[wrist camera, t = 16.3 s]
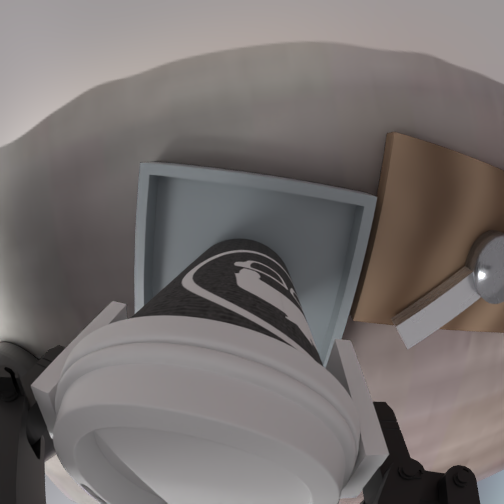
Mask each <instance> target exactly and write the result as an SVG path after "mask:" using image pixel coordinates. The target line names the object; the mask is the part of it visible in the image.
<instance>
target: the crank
mask: <svg viewBox="0 0 504 504" xmlns="http://www.w3.org/2000/svg"><path fill="white" fill-rule="evenodd" d="M480 297H482V298H483V299H484V300H485V301H486V302H488V303H491V304H499V303H502V302H504V233H502V232H500V231H497V230H490V231H487V232H485V233H483V234H482V235H480V236H479V237H478V238H477V239H476V240H475V242H474V243H473V245H472V246H471V248H470V250H469V252H468V255H467V258H466V263H465V266H464V267H463V268H462V269H461V270H459V271H458V272H457V273H455V274H454V275H453V276H451V277H450V278H449V279H447V280H446V281H445V282H443V283H442V284H441V285H439V286H438V287H436V288H435V289H434V290H432V291H431V292H429V293H428V294H426V295H425V296H424V297H422V298H421V299H419V300H418V301H416V302H415V303H413V304H412V305H410V306H409V307H407V308H406V309H404V310H403V311H401V312H400V313H398V314H397V315H395V316H394V317H392V318H391V320H392V322H393V324H394V326H395V327H396V329H397V331H398V333H399V335H400V337H401V339H402V341H403V343H404V344H405V346H406V348H407V349H409V348H411V347H412V346H414V345H415V344H417V343H418V342H420V341H422V340H423V339H425V338H426V337H428V336H429V335H430V334H432V333H433V332H435V331H436V330H438V329H439V328H441V327H442V326H443V325H445V324H446V323H448V322H449V321H450V320H452V319H453V318H454V317H456V316H457V315H459V314H460V313H461V312H463V311H464V310H465V309H466V308H468V307H469V306H470V305H472V304H473V303H474V302H475V301H477V300H478V299H479V298H480Z"/></svg>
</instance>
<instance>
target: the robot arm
mask: <svg viewBox="0 0 504 504" xmlns="http://www.w3.org/2000/svg"><path fill="white" fill-rule="evenodd" d="M125 319H127V304H124V303H119V302H115V301H112V302H111V303H110V304H109V305H108V306H107V307H106V308H105V309H104V310H103V311H102V312H101V313H100V314H99V315H98V316H97V317H96V318H95V319H94V320H93V321H92V322H91V323H90V324H89V325H88V326H87V327H86V328H85V329H84V330H83V331H82V332H81V333H80V334H79V335H78V336H77V337H76V338H75V339H74V340H73V341H72V342H71V343H70V344H69V345H68V346H67V347H63V346H60V345H59V346H57V347H55V348H52V349H50V350H49V351H48V352H47V353H46V354H45V355H44V356H43V357H42V359H40V360H38V359H37V358H35V357H34V356H33V355H31V354H30V353H29V352H27V351H26V350H24V349H22V348H21V347H19V346H17V345H14V344H11V343H7V342H0V504H46V497H45V468H44V462H46V461H47V460H49V459H50V458H52V457H53V456H55V455H56V451H55V448H54V444H53V430H54V425H55V422H56V419H57V418H56V413H55V397H56V391H57V385H58V381H59V377H60V374H61V372H62V369H63V367H64V364H65V362H66V360H67V358H68V356H69V354H70V353H71V351H72V350H73V348H74V347H75V346H76V345H77V344H78V343H79V342H80V341H81V340H82V339H83V338H85V337H86V336H87V335H89V334H90V333H92V332H93V331H95V330H97V329H99V328H101V327H103V326H106V325H108V324H111V323H114V322H117V321H121V320H125ZM326 370H328V371H329V372H330V373H331V374H332V375H333V376H334V377H335V378H336V379H337V380H338V381H339V382H340V383H341V385H342V386H343V387H344V388H345V390H346V391H347V392H348V394H349V395H350V397H351V399H352V401H353V403H354V405H355V407H356V410H357V413H358V416H359V421H360V440H359V450H358V455H357V459H356V462H355V465H354V469H353V472H352V474H351V476H350V478H349V480H348V482H347V483H346V485H345V486H344V487H343V489H342V491H341V496H340V498H356V497H357V496H358V495H359V494H360V492H361V491H362V490H363V494H364V500H363V501H362V502H361V503H360V504H480V500H479V493H478V488H477V482H476V478H475V475H474V473H473V472H472V471H471V470H470V469H469V468H467V467H465V466H461V465H457V466H453V467H451V468H450V469H449V470H448V471H447V472H446V473H437V472H430V471H426V470H424V468H423V466H422V465H421V464H420V463H419V462H418V461H416V460H414V459H412V458H410V455H409V452H408V450H407V447H406V444H405V441H404V438H403V436H402V433H401V430H399V425H398V422H396V421H397V420H396V417H395V414H394V412H393V410H392V409H391V408H390V407H389V406H388V405H387V403H386V402H372V399H371V396H370V393H369V390H368V387H367V384H366V381H365V379H364V376H363V373H362V370H361V367H360V364H359V362H358V359H357V356H356V353H355V350H354V348H353V345H352V342H351V340H342V339H335V340H334V344H333V347H332V350H331V353H330V356H329V359H328V362H327V365H326Z"/></svg>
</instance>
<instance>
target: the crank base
mask: <svg viewBox="0 0 504 504" xmlns="http://www.w3.org/2000/svg"><path fill="white" fill-rule="evenodd" d="M490 230H497V231H500V232H502V233H504V170H501V169H499V168H497V167H494V166H492V165H490V164H487V163H485V162H482V161H480V160H477V159H475V158H472V157H469V156H467V155H464V154H461V153H459V152H456V151H453V150H450V149H448V148H445V147H442V146H439V145H436V144H433V143H430V142H427V141H424V140H420V139H417V138H414V137H411V136H407V135H404V134H400V133H397V132H391V133H387V136H386V143H385V150H384V157H383V163H382V169H381V175H380V181H379V186H378V192H377V202H376V207H375V212H374V217H373V221H372V226H371V231H370V235H369V239H368V244H367V248H366V252H365V256H364V261H363V265H362V269H361V272H360V276H359V280H358V284H357V288H356V291H355V295H354V299H353V302H352V306H351V309H350V315H351V317H352V319H353V321H359V322H368V323H377V324H387V325H394V324H393V322H392V320H391V318H392V317H394V316H395V315H397V314H398V313H400V312H401V311H403V310H404V309H406V308H407V307H409V306H410V305H412V304H413V303H415V302H416V301H418V300H419V299H421V298H422V297H424V296H425V295H426V294H428V293H429V292H431V291H432V290H434V289H435V288H436V287H438V286H439V285H441V284H442V283H443V282H445V281H446V280H447V279H449V278H450V277H451V276H453V275H454V274H455V273H457V272H458V271H459V270H461V269H462V268H463V267H464V266H465V263H466V258H467V255H468V252H469V250H470V248H471V246H472V245H473V243H474V242H475V240H476V239H477V238H478V237H479V236H480V235H482V234H483V233H485V232H487V231H490ZM439 329H446V330H461V331H478V332H500V333H504V302H502V303H499V304H491V303H488V302H486V301H485V300H484V299H483V298H482V297H480V298H479V299H478V300H477V301H475V302H474V303H473V304H472V305H470V306H469V307H468V308H466V309H465V310H464V311H463V312H461V313H460V314H459V315H457V316H456V317H454V318H453V319H452V320H450V321H449V322H448V323H446V324H445V325H443V326H442V327H441V328H439Z"/></svg>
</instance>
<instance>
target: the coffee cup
mask: <svg viewBox="0 0 504 504" xmlns="http://www.w3.org/2000/svg"><path fill="white" fill-rule="evenodd" d="M55 413H56V418H57V419H56V422H55V425H54V430H53V444H54V448H55V451H56V454H57V456H58V458H59V460H60V462H61V464H62V465H63V467H64V468H65V470H66V471H67V473H68V474H69V475H70V476H71V478H72V479H73V480H74V481H75V482H76V483H77V484H78V485H79V486H80V487H81V488H82V489H83V490H84V491H85V492H86V493H87V494H88V495H90V496H91V497H92V498H93V499H95V500H96V501H97V502H99V503H100V504H338V503H339V500H340V496H341V491H342V489H343V487H344V486H345V485H346V483H347V482H348V480H349V478H350V476H351V474H352V472H353V469H354V465H355V462H356V459H357V455H358V450H359V440H360V421H359V416H358V413H357V410H356V407H355V405H354V403H353V401H352V399H351V397H350V395H349V394H348V392H347V391H346V390H345V388H344V387H343V386H342V385H341V383H340V382H339V381H338V380H337V379H336V378H335V377H334V376H333V375H332V374H331V373H330V372H329V371H328V370H326V369H325V368H324V367H323V364H322V361H321V359H320V356H319V353H318V351H317V348H316V345H315V342H314V340H313V337H312V334H311V331H310V329H309V326H308V323H307V320H306V318H305V315H304V312H303V309H302V307H301V304H300V301H299V299H298V296H297V293H296V290H295V288H294V285H293V282H292V280H291V277H290V274H289V272H288V269H287V267H286V265H285V263H284V262H283V260H282V259H281V258H280V257H279V255H278V254H277V253H276V252H274V251H273V250H272V249H271V248H269V247H268V246H266V245H264V244H262V243H260V242H257V241H254V240H250V239H241V238H237V239H229V240H225V241H221V242H219V243H217V244H215V245H213V246H211V247H210V248H209V249H207V250H206V251H205V252H204V253H203V254H201V255H200V256H199V257H198V258H197V259H196V260H195V261H194V262H192V263H191V264H190V265H189V266H188V267H187V268H186V269H185V270H183V271H182V272H181V273H180V274H179V275H178V276H177V277H176V278H174V279H173V280H172V281H171V282H170V283H169V284H168V285H167V286H165V287H164V288H163V289H162V290H161V291H160V292H159V293H158V294H157V295H155V296H154V297H153V298H152V299H151V300H150V301H149V302H148V303H146V304H145V305H144V306H143V307H142V308H141V309H140V310H139V311H138V312H136V313H135V314H134V315H133V316H132V317H131V318H130V319H125V320H121V321H117V322H114V323H111V324H108V325H106V326H103V327H101V328H99V329H97V330H95V331H93V332H92V333H90V334H89V335H87V336H86V337H85V338H83V339H82V340H81V341H80V342H79V343H78V344H77V345H76V346H75V347H74V348H73V350H72V351H71V353H70V354H69V356H68V358H67V360H66V362H65V364H64V367H63V369H62V372H61V374H60V377H59V381H58V385H57V391H56V397H55Z"/></svg>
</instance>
